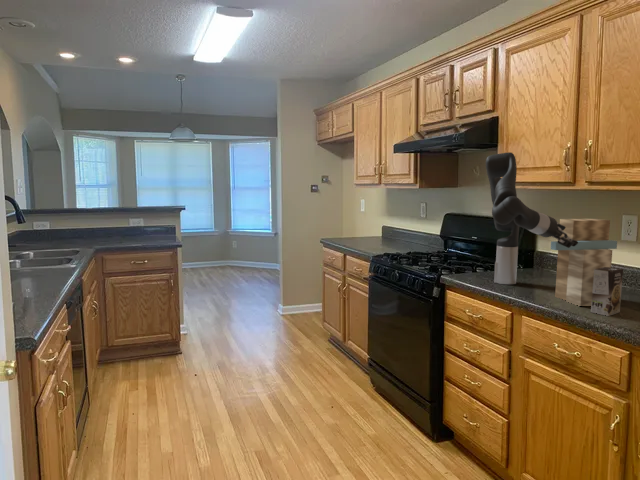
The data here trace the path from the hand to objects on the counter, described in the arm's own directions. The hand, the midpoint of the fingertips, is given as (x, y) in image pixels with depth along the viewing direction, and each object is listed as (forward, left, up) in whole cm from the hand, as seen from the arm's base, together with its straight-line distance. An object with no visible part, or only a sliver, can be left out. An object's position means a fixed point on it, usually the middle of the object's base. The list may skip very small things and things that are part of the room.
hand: (569, 236), depth 181 cm
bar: (+5, +8, -5) cm, 11 cm away
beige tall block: (+7, +10, -27) cm, 30 cm away
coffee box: (+13, -1, -27) cm, 30 cm away
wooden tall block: (+4, +18, -27) cm, 33 cm away
